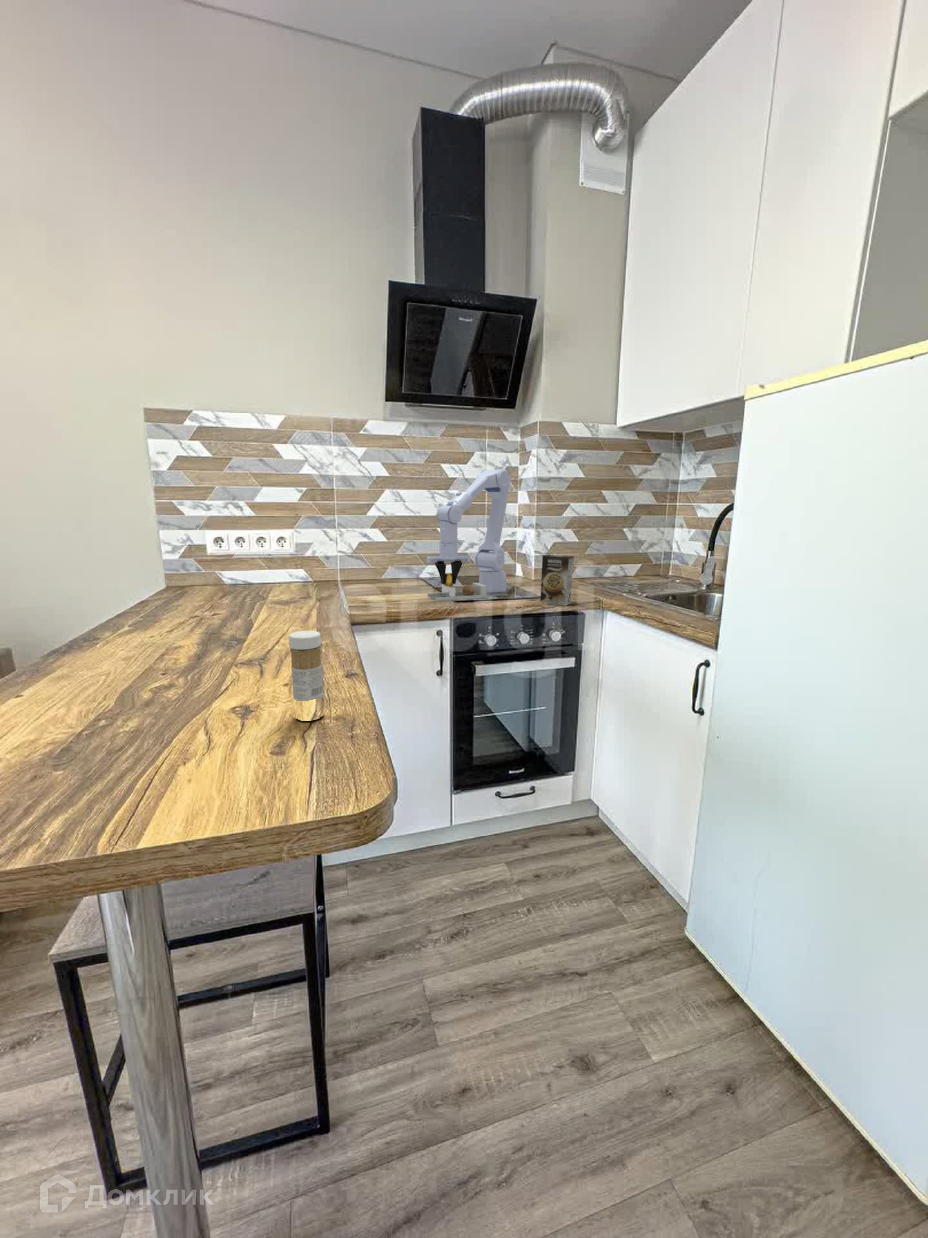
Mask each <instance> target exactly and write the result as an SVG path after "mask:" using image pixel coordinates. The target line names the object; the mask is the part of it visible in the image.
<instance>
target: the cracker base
mask: <svg viewBox="0 0 928 1238" xmlns="http://www.w3.org/2000/svg"><path fill="white" fill-rule="evenodd" d="M471 586H472V587H473V588H474V593H473V595H472V596H465V595H464V594H463V592H462V590H461V591H455V597H445V596H443V595H442V591H441V592H427V594H426V596H427V597H428V598H429V599H432V600H433V601H435V602H452V601H470V600H485V599H486V600H488V598H487V592H486V586H485V585H483V584H480V583H479V582H472V583H471Z"/></svg>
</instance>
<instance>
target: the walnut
mask: <svg viewBox="0 0 928 1238" xmlns="http://www.w3.org/2000/svg"><path fill="white" fill-rule="evenodd" d="M461 591H462V592H463V594H464V595H465V596H472V595H473V593H474V588H473V587H472V584H466V585H464V586H463V588H462V590H461Z"/></svg>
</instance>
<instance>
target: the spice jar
mask: <svg viewBox="0 0 928 1238" xmlns="http://www.w3.org/2000/svg"><path fill="white" fill-rule="evenodd" d="M321 645H322V639H321V633H320V632H318V631H316V630H299V631H295V632H291V633H290V634H289V635H288V647H289V650H290V656H291V657H290V659H291V679H292V681H291V682H292V696H293V700H294V699H295V700H297V701H309V700H313V699H318V698H321V697H322V696H323V697H324V689H323V688H324V687H323V669H322V668H323V666H322V660H321V658H322V657H321Z"/></svg>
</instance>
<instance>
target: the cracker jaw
mask: <svg viewBox="0 0 928 1238" xmlns="http://www.w3.org/2000/svg"><path fill="white" fill-rule="evenodd" d="M441 592H442V595H443V596H445V597H455V592H456V586H454V584H453V573H452V572H445V584H441Z"/></svg>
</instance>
